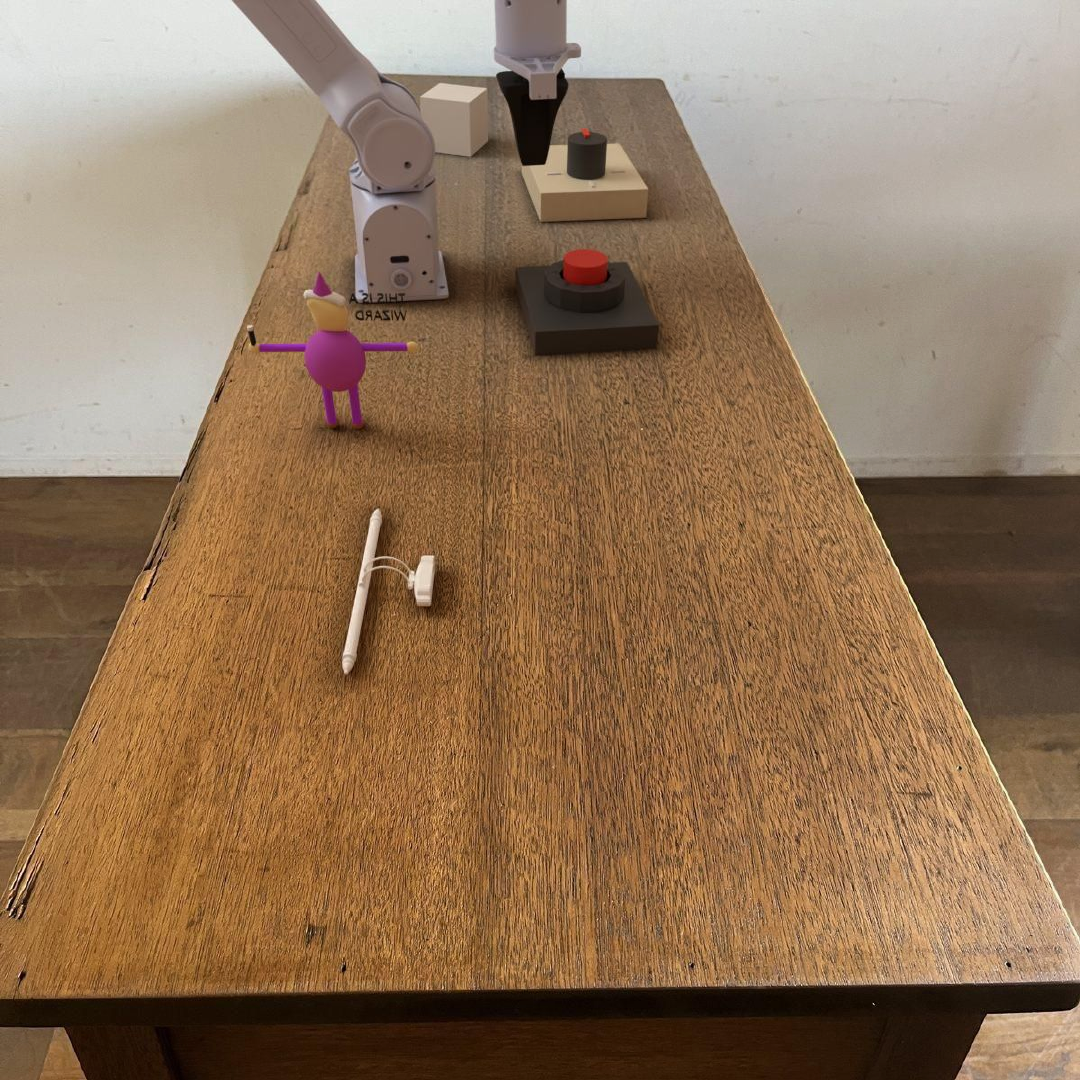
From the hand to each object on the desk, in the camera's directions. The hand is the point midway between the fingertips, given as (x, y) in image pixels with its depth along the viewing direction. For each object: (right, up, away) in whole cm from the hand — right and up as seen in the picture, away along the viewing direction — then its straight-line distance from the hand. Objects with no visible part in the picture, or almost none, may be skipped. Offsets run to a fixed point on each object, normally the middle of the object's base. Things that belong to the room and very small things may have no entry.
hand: (533, 162), depth 86 cm
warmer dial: (+5, +5, +16) cm, 18 cm away
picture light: (-8, -36, -28) cm, 46 cm away
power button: (+4, -11, -4) cm, 13 cm away
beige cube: (-9, +14, +31) cm, 36 cm away
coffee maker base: (+4, -14, -2) cm, 15 cm away
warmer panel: (+5, +4, +20) cm, 21 cm away
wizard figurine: (-13, -25, -16) cm, 33 cm away
